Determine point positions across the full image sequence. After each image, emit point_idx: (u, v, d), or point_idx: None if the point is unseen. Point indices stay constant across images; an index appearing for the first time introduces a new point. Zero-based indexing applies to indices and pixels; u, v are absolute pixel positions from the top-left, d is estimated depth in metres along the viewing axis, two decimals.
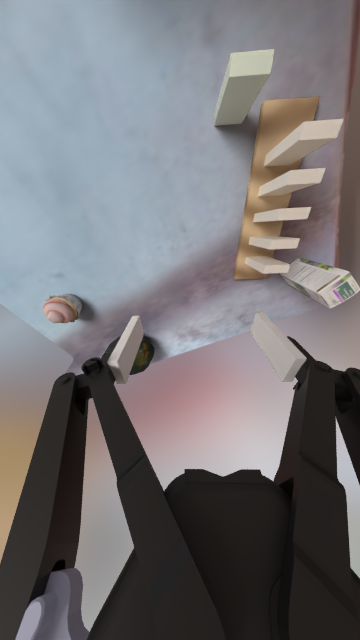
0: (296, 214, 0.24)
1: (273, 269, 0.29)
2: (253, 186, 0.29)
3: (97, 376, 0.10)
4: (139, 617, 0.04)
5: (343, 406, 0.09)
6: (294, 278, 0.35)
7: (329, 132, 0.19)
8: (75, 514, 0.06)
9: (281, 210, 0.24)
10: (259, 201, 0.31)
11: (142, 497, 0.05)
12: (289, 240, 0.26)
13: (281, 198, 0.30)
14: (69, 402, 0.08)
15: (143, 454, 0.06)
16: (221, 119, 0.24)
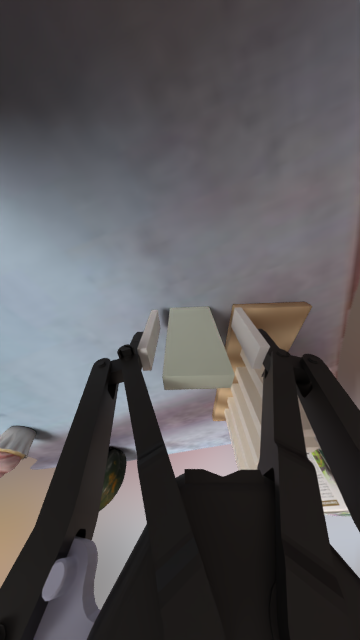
0: None
1: None
2: None
3: (129, 361, 0.11)
4: (145, 626, 0.04)
5: (304, 390, 0.10)
6: None
7: None
8: (97, 490, 0.07)
9: None
10: None
11: (158, 482, 0.05)
12: None
13: None
14: (103, 385, 0.09)
15: (162, 443, 0.06)
16: None
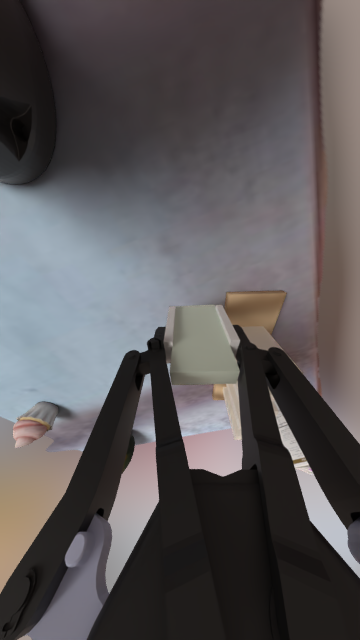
0: None
1: None
2: None
3: (156, 353, 0.11)
4: (150, 639, 0.03)
5: (273, 381, 0.11)
6: None
7: None
8: (117, 475, 0.07)
9: None
10: None
11: (173, 474, 0.05)
12: None
13: None
14: (132, 377, 0.09)
15: (180, 438, 0.07)
16: None
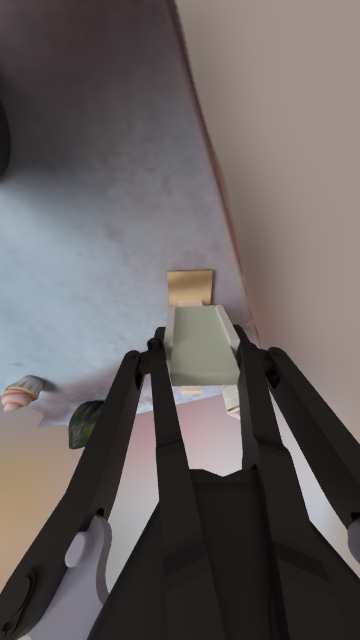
0: None
1: (189, 392, 0.33)
2: None
3: (156, 353, 0.11)
4: (150, 639, 0.03)
5: (273, 381, 0.11)
6: None
7: None
8: (117, 475, 0.07)
9: None
10: None
11: (173, 474, 0.05)
12: None
13: None
14: (131, 377, 0.09)
15: (180, 438, 0.07)
16: None
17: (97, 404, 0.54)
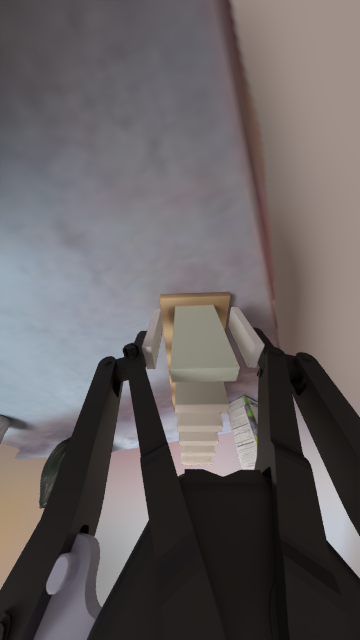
0: (201, 443, 0.18)
1: (193, 463, 0.23)
2: None
3: (133, 360, 0.11)
4: (146, 628, 0.04)
5: (298, 388, 0.10)
6: (235, 433, 0.29)
7: (214, 410, 0.14)
8: (101, 487, 0.07)
9: (181, 441, 0.18)
10: None
11: (161, 481, 0.05)
12: (202, 453, 0.20)
13: None
14: (108, 384, 0.09)
15: (165, 442, 0.06)
16: None
17: None
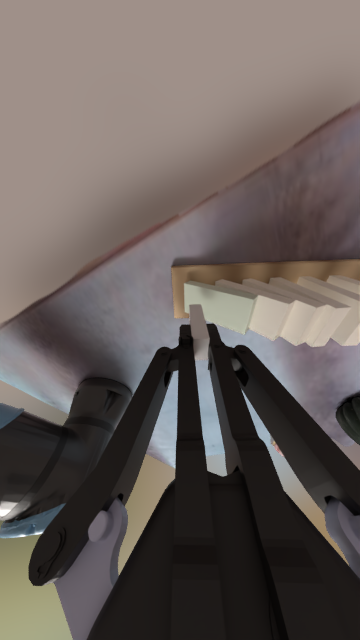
0: (333, 325, 0.15)
1: None
2: None
3: (186, 350, 0.11)
4: None
5: (243, 378, 0.11)
6: None
7: (289, 311, 0.16)
8: (138, 465, 0.07)
9: (314, 345, 0.16)
10: None
11: (191, 471, 0.05)
12: None
13: (254, 277, 0.22)
14: (161, 373, 0.10)
15: (201, 438, 0.06)
16: None
17: (347, 407, 0.41)
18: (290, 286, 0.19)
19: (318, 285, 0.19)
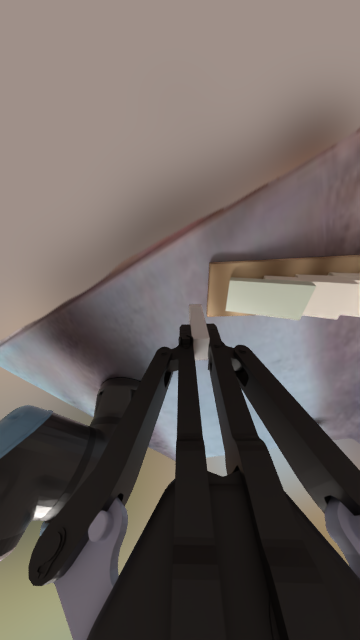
0: None
1: None
2: None
3: (186, 350, 0.11)
4: None
5: (243, 378, 0.11)
6: None
7: None
8: (138, 465, 0.07)
9: None
10: None
11: (191, 471, 0.05)
12: None
13: (296, 273, 0.21)
14: (161, 373, 0.10)
15: (201, 438, 0.06)
16: None
17: None
18: None
19: None
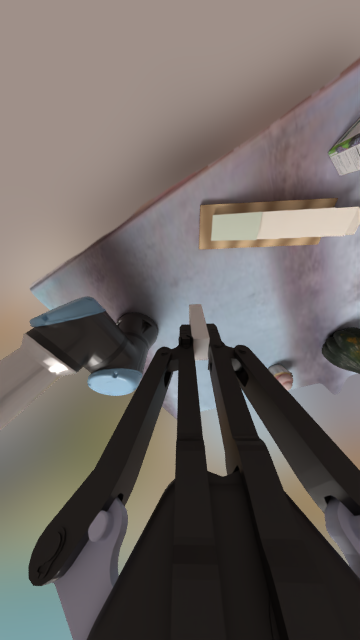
0: None
1: None
2: (241, 244, 0.36)
3: (186, 350, 0.11)
4: None
5: (243, 378, 0.11)
6: None
7: None
8: (138, 465, 0.07)
9: (323, 235, 0.31)
10: None
11: (191, 471, 0.05)
12: (352, 217, 0.29)
13: None
14: (161, 373, 0.10)
15: (201, 438, 0.06)
16: None
17: (329, 339, 0.51)
18: None
19: None
